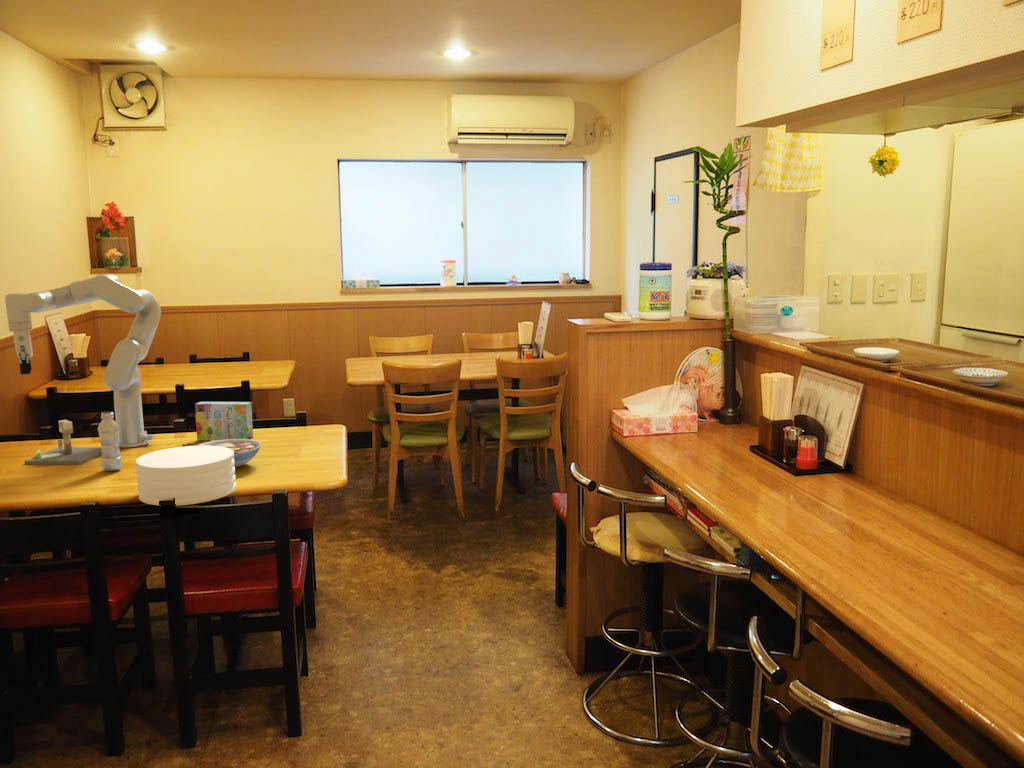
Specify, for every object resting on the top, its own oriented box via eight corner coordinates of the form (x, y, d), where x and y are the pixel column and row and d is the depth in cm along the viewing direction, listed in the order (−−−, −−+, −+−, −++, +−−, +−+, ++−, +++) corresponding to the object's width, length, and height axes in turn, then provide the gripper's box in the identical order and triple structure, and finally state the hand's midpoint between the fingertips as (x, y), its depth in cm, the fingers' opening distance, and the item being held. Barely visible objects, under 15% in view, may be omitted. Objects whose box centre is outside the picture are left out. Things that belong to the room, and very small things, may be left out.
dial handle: (75, 453, 302) (72, 421, 300) (67, 455, 301) (64, 423, 299) (64, 449, 310) (60, 417, 308) (56, 450, 308) (53, 419, 306)
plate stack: (135, 487, 265) (132, 452, 263) (228, 475, 277) (226, 441, 275) (142, 511, 240) (139, 472, 238) (243, 497, 253) (241, 460, 251)
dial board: (110, 450, 313) (109, 442, 312) (80, 464, 293) (79, 455, 293) (58, 450, 314) (57, 442, 314) (24, 464, 294) (23, 455, 294)
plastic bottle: (115, 473, 281) (109, 414, 277) (97, 472, 282) (91, 414, 279) (127, 468, 287) (122, 411, 284) (110, 467, 288) (104, 410, 285)
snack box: (254, 439, 329) (251, 401, 326) (247, 442, 323) (245, 404, 321) (203, 438, 332) (200, 400, 329) (196, 441, 326) (193, 403, 324)
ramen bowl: (279, 464, 291) (278, 440, 289) (226, 480, 271) (225, 455, 270) (229, 455, 303) (227, 433, 302) (175, 470, 284) (173, 446, 282)
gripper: (31, 327, 305) (37, 374, 308) (32, 324, 320) (38, 368, 323) (7, 329, 301) (13, 376, 304) (9, 325, 317) (15, 370, 319)
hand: (26, 372), depth 314 cm, fingers open, 9 cm apart
